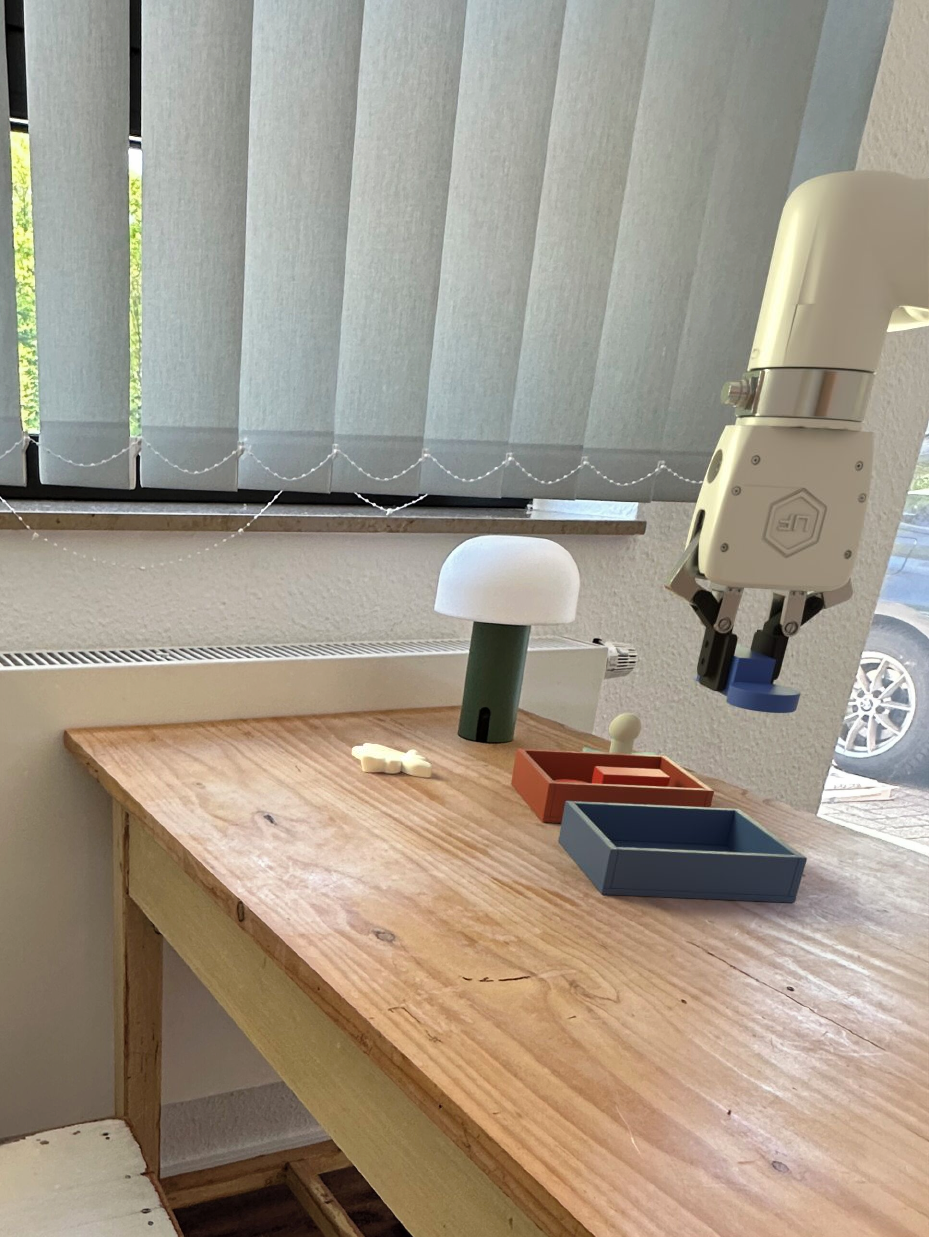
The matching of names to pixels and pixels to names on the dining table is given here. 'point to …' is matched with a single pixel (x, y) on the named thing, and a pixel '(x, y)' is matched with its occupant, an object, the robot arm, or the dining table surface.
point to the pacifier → (623, 734)
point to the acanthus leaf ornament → (391, 760)
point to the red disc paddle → (627, 777)
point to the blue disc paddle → (757, 684)
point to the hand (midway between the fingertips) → (734, 686)
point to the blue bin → (679, 852)
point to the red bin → (549, 797)
